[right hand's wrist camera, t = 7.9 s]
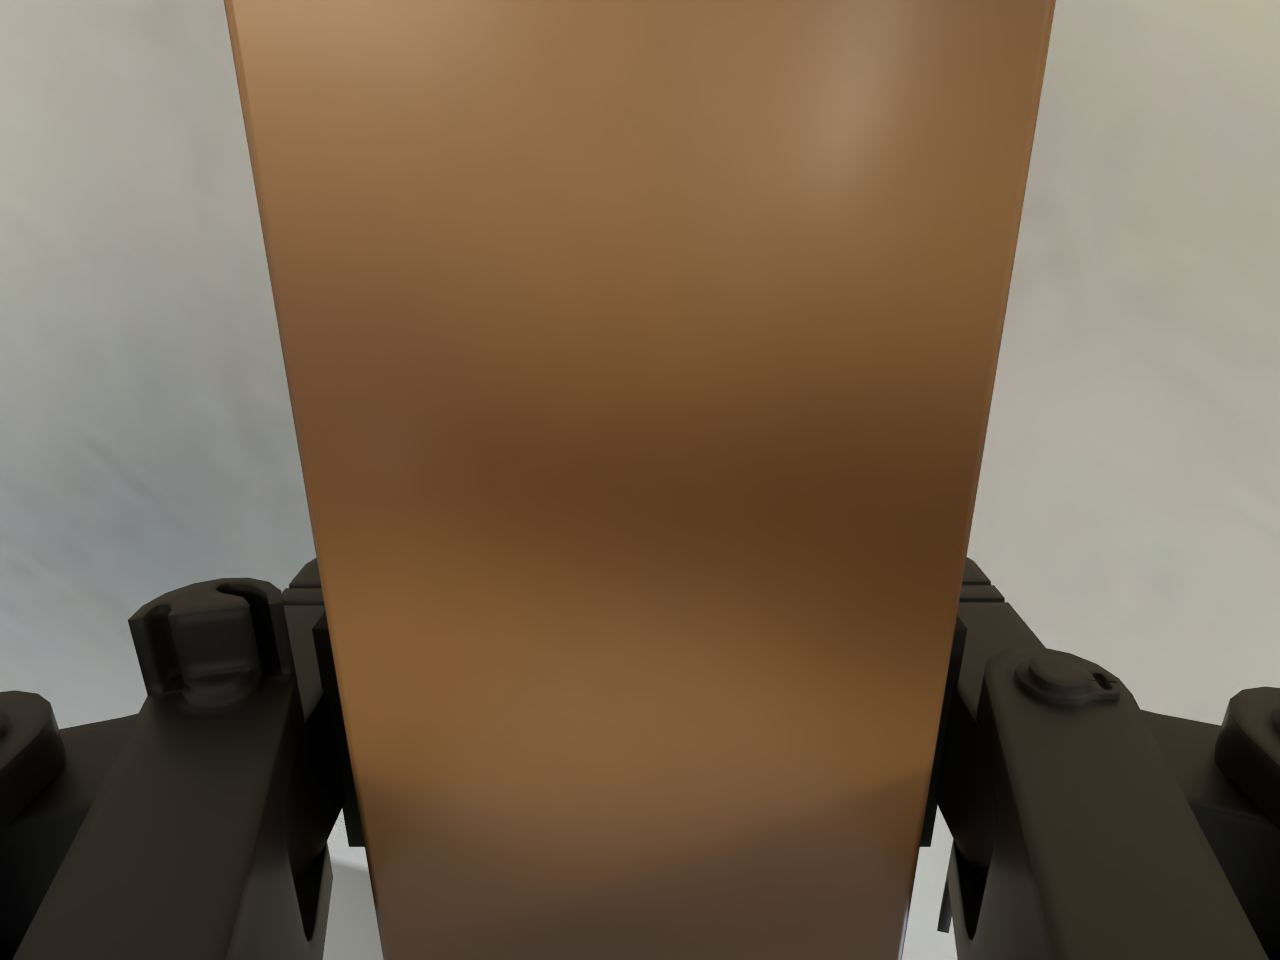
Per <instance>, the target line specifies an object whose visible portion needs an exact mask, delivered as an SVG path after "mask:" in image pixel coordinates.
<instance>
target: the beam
mask: <svg viewBox="0 0 1280 960" xmlns="http://www.w3.org/2000/svg"><path fill="white" fill-rule="evenodd" d="M1055 2H1056V0H224V4H225V10H226V16H227V22H228V28H229V34H230V40H231V46H232V52H233V58H234V64H235V70H236V76H237V82H238V88H239V94H240V100H241V106H242V112H243V118H244V124H245V130H246V136H247V142H248V148H249V154H250V160H251V166H252V172H253V178H254V184H255V190H256V196H257V202H258V208H259V214H260V220H261V226H262V232H263V238H264V244H265V250H266V256H267V262H268V268H269V274H270V280H271V286H272V292H273V298H274V304H275V310H276V316H277V322H278V328H279V334H280V340H281V346H282V352H283V358H284V364H285V370H286V376H287V382H288V388H289V394H290V400H291V406H292V412H293V418H294V424H295V430H296V436H297V442H298V448H299V454H300V460H301V466H302V472H303V478H304V484H305V490H306V496H307V502H308V508H309V514H310V520H311V526H312V532H313V538H314V544H315V550H316V556H317V562H318V568H319V574H320V580H321V586H322V592H323V598H324V604H325V610H326V616H327V622H328V628H329V634H330V640H331V646H332V652H333V658H334V664H335V670H336V676H337V682H338V688H339V694H340V700H341V706H342V712H343V718H344V724H345V730H346V736H347V742H348V748H349V754H350V760H351V766H352V772H353V778H354V784H355V790H356V796H357V802H358V808H359V814H360V820H361V826H362V832H363V838H364V844H365V850H366V856H367V862H368V868H369V874H370V880H371V886H372V892H373V898H374V904H375V910H376V916H377V922H378V928H379V934H380V940H381V946H382V952H383V958H384V960H901V959H902V953H903V947H904V941H905V935H906V928H907V922H908V916H909V910H910V904H911V897H912V891H913V885H914V879H915V872H916V866H917V860H918V854H919V848H920V841H921V835H922V829H923V823H924V817H925V810H926V804H927V798H928V792H929V785H930V779H931V773H932V767H933V761H934V754H935V748H936V742H937V736H938V730H939V723H940V717H941V711H942V705H943V698H944V692H945V686H946V680H947V674H948V667H949V661H950V655H951V649H952V642H953V636H954V630H955V624H956V618H957V611H958V605H959V599H960V593H961V587H962V580H963V574H964V568H965V562H966V555H967V549H968V543H969V537H970V531H971V524H972V518H973V512H974V506H975V500H976V493H977V487H978V481H979V475H980V468H981V462H982V456H983V450H984V444H985V437H986V431H987V425H988V419H989V413H990V406H991V400H992V394H993V388H994V381H995V375H996V369H997V363H998V357H999V350H1000V344H1001V338H1002V332H1003V325H1004V319H1005V313H1006V307H1007V301H1008V294H1009V288H1010V282H1011V276H1012V270H1013V263H1014V257H1015V251H1016V245H1017V238H1018V232H1019V226H1020V220H1021V214H1022V207H1023V201H1024V195H1025V189H1026V183H1027V176H1028V170H1029V164H1030V158H1031V151H1032V145H1033V139H1034V133H1035V127H1036V120H1037V114H1038V108H1039V102H1040V96H1041V89H1042V83H1043V77H1044V71H1045V64H1046V58H1047V52H1048V46H1049V40H1050V33H1051V27H1052V21H1053V15H1054V8H1055Z"/></svg>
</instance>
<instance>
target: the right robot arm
mask: <svg viewBox="0 0 1280 960" xmlns="http://www.w3.org/2000/svg"><path fill="white" fill-rule="evenodd" d="M1004 599H1005V598H1004V597H1003V596H1002V595H1001V593H1000V592H999V591H998V590H997V588H996V587H995V586H994V585H991V581H990V580H989V579H988V578H987V576H986V575H985V574H984V573H983V572H982V570H981V569H980V568H979V567H978V566H977V564H976V563H975V562H974V561H973V560H971V559H969V558H967V557H966V562H965V568H964V574H963V580H962V587H961V593H960V599H959V605H958V611H957V618H956V624H955V630H954V636H953V642H952V649H951V655H950V661H949V667H948V674H947V680H946V686H945V692H944V698H943V705H942V711H941V717H940V723H939V730H938V736H937V742H936V748H935V754H934V761H933V767H932V773H931V779H930V785H929V792H928V798H927V804H926V810H925V817H924V823H923V829H922V835H921V841H920V847H930V846H931V840H932V834H933V828H934V822H935V816H936V810H937V805H938V806H939V808H940V810H941V812H942V815H943V817H944V819H945V821H946V823H947V825H948V828H949V830H950V832H951V834H952V836H953V838H954V839H953V844H952V850H951V855H950V861H949V866H948V871H947V877H946V882H945V888H944V893H943V899H942V904H941V910H940V916H939V922H938V929H937V931H941V932H946V933H949V927H950V922H951V917H952V918H953V926H954V934H955V941H956V949H957V957H958V960H1280V688H1273V687H1260V688H1252V689H1245V690H1242V691H1240V692H1239V693H1238V694H1236V695H1235V696H1234V697H1232V698H1231V699H1230V701H1229V704H1228V707H1227V710H1226V714H1225V717H1224V720H1223V723H1222V726H1219V725H1214V724H1209V723H1204V722H1198V721H1193V720H1188V719H1183V718H1177V717H1172V716H1167V715H1162V714H1156V713H1152V712H1148V711H1144V710H1140V708H1139V707H1138V705H1137V703H1136V701H1135V699H1134V697H1133V695H1132V694H1131V692H1130V691H1129V690H1128V689H1127V688H1126V686H1125V685H1124V684H1123V683H1122V682H1121V681H1120V679H1119V678H1117V677H1116V676H1114V675H1113V674H1111V673H1110V672H1108V671H1107V670H1105V669H1103V668H1102V667H1100V666H1099V665H1097V664H1095V663H1093V662H1090V661H1088V660H1085V659H1083V658H1080V657H1078V656H1075V655H1073V654H1070V653H1065V652H1061V651H1056V650H1052V649H1047V648H1045V646H1044V645H1043V644H1042V643H1041V642H1040V640H1039V639H1038V638H1037V637H1036V636H1035V634H1034V633H1033V632H1032V631H1031V630H1030V628H1029V627H1028V626H1027V625H1026V623H1025V622H1024V621H1023V620H1022V619H1021V617H1020V616H1019V615H1018V614H1017V613H1016V611H1015V610H1014V609H1013V608H1012V607H1011V605H1010V604H1009V603H1005V601H1004ZM128 623H129V626H130V630H131V634H132V638H133V641H134V645H135V649H136V653H137V657H138V660H139V664H140V668H141V672H142V675H143V679H144V683H145V687H146V690H147V694H148V696H147V698H146V700H145V702H144V704H143V706H142V708H141V710H140V712H139V713H138V714H134V715H130V716H126V717H122V718H117V719H112V720H106V721H101V722H96V723H91V724H86V725H80V726H75V727H70V728H65V729H58V725H57V722H56V719H55V716H54V713H53V710H52V707H51V704H50V702H48V701H47V700H46V699H44V698H43V697H42V696H40V695H39V694H36V693H29V692H21V691H7V692H0V960H322V959H323V951H324V943H325V936H326V928H327V920H328V912H329V904H330V896H331V888H332V880H333V875H332V868H331V861H330V855H329V850H328V844H327V839H328V837H329V835H330V833H331V831H332V828H333V826H334V824H335V822H336V820H337V818H338V815H339V813H340V811H341V809H342V808H343V814H344V820H345V826H346V832H347V837H348V843H349V847H365V844H364V838H363V832H362V826H361V820H360V814H359V808H358V802H357V796H356V790H355V784H354V778H353V772H352V766H351V760H350V754H349V748H348V742H347V736H346V730H345V724H344V718H343V712H342V706H341V700H340V694H339V688H338V682H337V676H336V670H335V664H334V658H333V652H332V646H331V640H330V634H329V628H328V622H327V616H326V610H325V604H324V598H323V592H322V586H321V580H320V574H319V568H318V562H317V558H315V559H314V560H312V561H310V562H309V563H307V564H306V565H305V566H304V567H303V568H302V569H301V571H300V572H299V573H298V574H297V576H296V577H295V578H294V579H293V580H292V582H291V583H290V584H289V588H286V589H285V590H284V591H283V593H282V594H281V590H279V589H278V588H277V587H275V586H274V585H272V584H271V583H270V582H267V581H262V580H257V579H252V578H221V579H216V580H211V581H205V582H200V583H194V584H191V585H188V586H185V587H182V588H179V589H176V590H173V591H171V592H168V593H165V594H163V595H161V596H160V597H158V598H156V599H154V600H152V601H151V602H149V603H147V604H145V605H143V606H142V607H141V608H140V609H139V610H138V611H137V612H136V613H135V614H134V615H133V616H132V617H131V618H130V619H129V620H128Z"/></svg>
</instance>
